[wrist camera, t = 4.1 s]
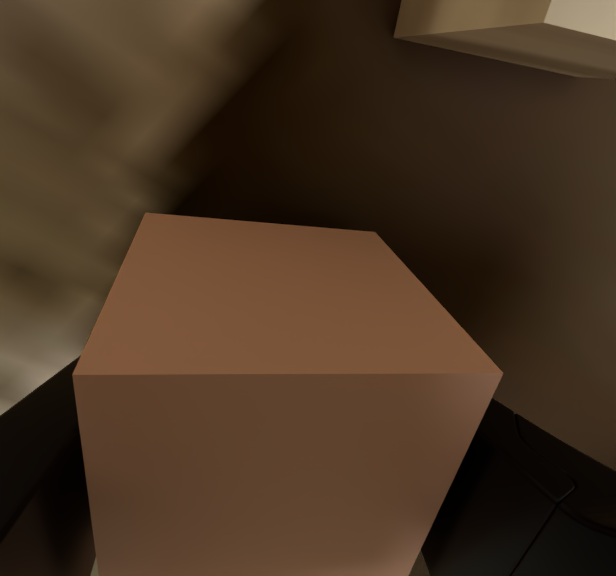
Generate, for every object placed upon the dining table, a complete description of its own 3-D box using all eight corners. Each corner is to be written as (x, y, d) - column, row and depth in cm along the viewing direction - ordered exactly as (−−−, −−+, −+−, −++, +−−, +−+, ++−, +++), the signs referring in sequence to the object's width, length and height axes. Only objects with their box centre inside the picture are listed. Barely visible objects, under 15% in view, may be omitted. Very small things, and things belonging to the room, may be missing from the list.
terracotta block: (334, 395, 12) (402, 587, 8) (149, 399, 11) (105, 629, 6) (374, 231, 10) (503, 372, 5) (145, 212, 8) (72, 374, 4)
